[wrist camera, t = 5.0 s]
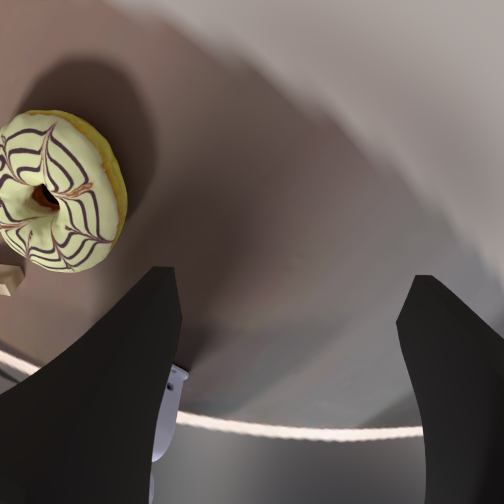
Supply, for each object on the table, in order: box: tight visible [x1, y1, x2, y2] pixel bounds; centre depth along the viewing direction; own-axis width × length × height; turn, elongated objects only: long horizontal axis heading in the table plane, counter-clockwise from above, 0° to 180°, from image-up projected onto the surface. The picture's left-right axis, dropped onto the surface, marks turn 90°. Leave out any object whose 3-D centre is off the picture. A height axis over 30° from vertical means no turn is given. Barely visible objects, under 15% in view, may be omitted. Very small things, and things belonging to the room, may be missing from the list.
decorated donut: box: [0, 110, 128, 272], centre depth 16 cm, size 10×11×4 cm
